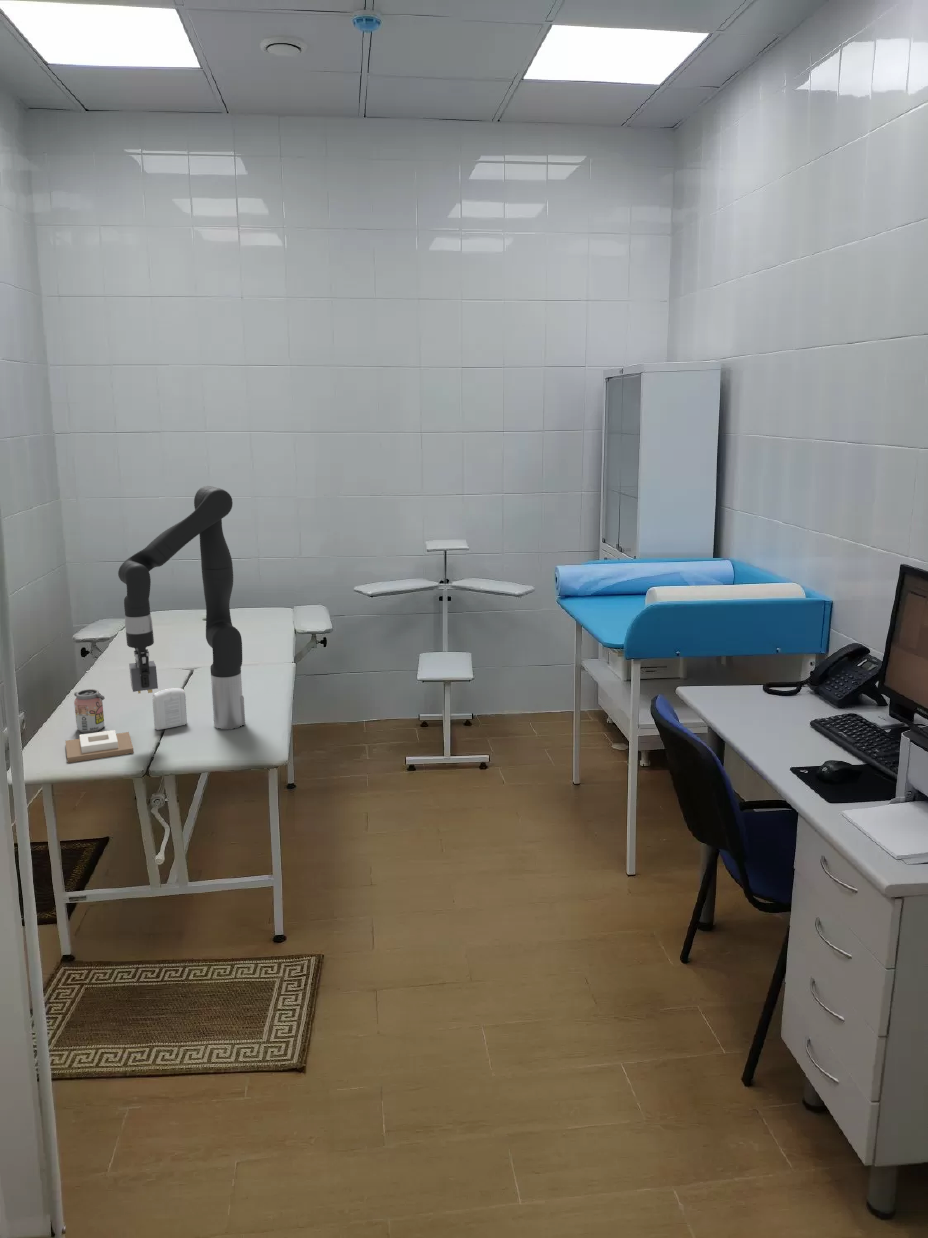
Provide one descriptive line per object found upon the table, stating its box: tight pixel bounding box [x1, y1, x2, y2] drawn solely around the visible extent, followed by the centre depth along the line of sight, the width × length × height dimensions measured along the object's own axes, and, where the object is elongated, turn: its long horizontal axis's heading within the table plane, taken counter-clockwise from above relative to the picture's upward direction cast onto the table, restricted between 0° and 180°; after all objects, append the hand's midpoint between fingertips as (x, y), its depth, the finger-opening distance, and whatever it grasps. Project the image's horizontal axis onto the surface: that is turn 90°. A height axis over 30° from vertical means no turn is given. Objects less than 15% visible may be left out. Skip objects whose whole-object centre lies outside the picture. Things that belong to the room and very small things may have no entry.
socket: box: [65, 729, 134, 764], centre depth 280 cm, size 18×14×4 cm
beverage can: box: [73, 688, 105, 734], centre depth 295 cm, size 9×8×12 cm
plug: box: [128, 660, 159, 694], centre depth 280 cm, size 7×6×8 cm
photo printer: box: [152, 687, 188, 731], centre depth 297 cm, size 10×4×12 cm, turn 125°
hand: (144, 683), depth 280 cm, fingers closed on plug, 5 cm apart
